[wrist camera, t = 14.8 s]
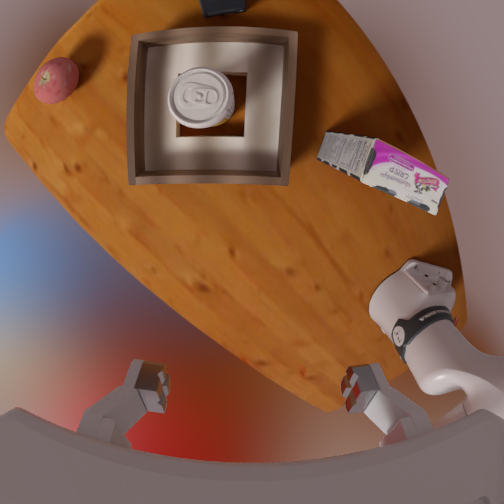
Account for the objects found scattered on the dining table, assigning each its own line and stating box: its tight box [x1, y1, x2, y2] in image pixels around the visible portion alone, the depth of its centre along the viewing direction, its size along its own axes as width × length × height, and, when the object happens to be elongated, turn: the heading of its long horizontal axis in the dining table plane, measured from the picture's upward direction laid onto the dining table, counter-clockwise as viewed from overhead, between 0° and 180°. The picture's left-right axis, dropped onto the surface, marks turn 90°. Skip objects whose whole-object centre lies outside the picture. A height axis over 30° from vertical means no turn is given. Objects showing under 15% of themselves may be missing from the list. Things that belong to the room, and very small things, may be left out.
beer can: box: [167, 67, 235, 128], centre depth 27 cm, size 6×6×15 cm
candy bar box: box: [317, 131, 449, 215], centre depth 30 cm, size 11×5×16 cm, turn 74°
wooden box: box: [127, 26, 298, 186], centre depth 30 cm, size 20×20×7 cm
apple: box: [34, 57, 79, 104], centre depth 25 cm, size 7×7×8 cm
